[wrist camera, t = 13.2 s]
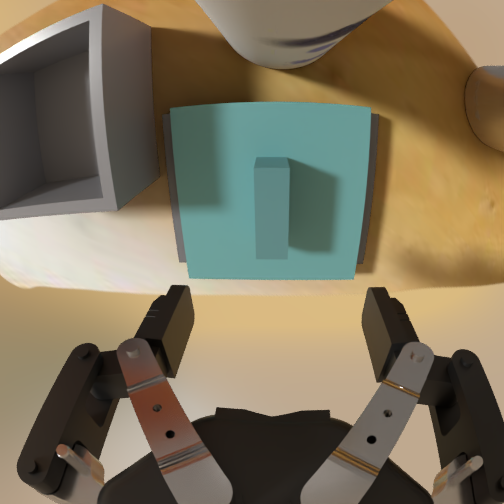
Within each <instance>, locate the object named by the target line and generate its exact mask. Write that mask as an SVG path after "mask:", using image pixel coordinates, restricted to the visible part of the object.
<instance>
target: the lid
mask: <svg viewBox="0 0 504 504" xmlns="http://www.w3.org/2000/svg"><path fill="white" fill-rule="evenodd" d="M170 116H171V130H172V142H173V154H174V164H175V174H176V184H177V193H178V201H179V210H180V218H181V225H182V233H183V240H184V247H185V254H186V261H187V267H188V273H189V278H193V279H249V280H350V279H354V275H355V269H356V263H357V257H358V250H359V244H360V237H361V229H362V222H363V214H364V205H365V196H366V186H367V174H368V162H369V147H370V126H371V107H362V106H353V105H341V104H328V103H309V102H239V103H220V104H206V105H194V106H185V107H176V108H170Z"/></svg>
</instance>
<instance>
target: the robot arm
mask: <svg viewBox="0 0 504 504" xmlns="http://www.w3.org/2000/svg"><path fill="white" fill-rule="evenodd" d="M465 107H466V113H467V117H468V120H469V123H470V125H471V127H472V129H473V131H474V133H475V134H476V136H477V137H478V138H479V139H480V140H481V141H482V142H483V143H484V144H486V145H487V146H489V147H491V148H494V149H497V150H499V151H502V152H504V66H483V67H479V68H478V69H476V70H475V71H474V72H473V73H472V74H471V76H470V78H469V79H468V82H467V85H466V90H465ZM193 324H194V309H193V304H192V299H191V293H190V288H189V286H187V285H172V286H171V287H170V289H169V291H168V293H167V295H161V296H160V297H158V298H157V299H156V300H155V301H154V302H153V303H152V305H151V307H150V309H149V311H148V312H147V314H146V317H145V318H144V320H143V322H142V323H141V325H140V327H139V329H138V331H137V333H136V335H135V337H134V338H131V339H128V340H126V341H124V342H123V343H121V344H120V345H119V347H118V349H117V350H114V351H105V352H100V351H99V349H98V347H97V346H96V345H94V344H92V343H85V344H81V345H79V346H77V347H76V348H75V349H74V350H73V351H72V352H71V354H70V356H69V357H68V359H67V361H66V363H65V365H64V366H63V368H62V370H61V372H60V374H59V375H58V377H57V379H56V381H55V383H54V385H53V387H52V388H51V391H50V392H49V395H48V397H47V398H46V400H45V402H44V404H43V406H42V408H41V410H40V412H39V414H38V416H37V418H36V421H35V423H34V425H33V427H32V429H31V431H30V434H29V436H28V438H27V440H26V443H25V445H24V447H23V450H22V452H21V455H20V457H19V459H18V462H17V472H18V475H19V477H20V478H21V480H22V481H24V482H25V483H26V484H28V485H29V486H31V487H32V488H34V489H35V490H37V492H39V493H40V494H42V495H44V496H45V497H47V498H49V499H51V500H52V501H54V502H56V503H58V504H502V503H504V422H503V418H502V415H501V412H500V410H499V407H498V404H497V402H496V399H495V396H494V394H493V391H492V389H491V386H490V384H489V381H488V379H487V376H486V374H485V372H484V369H483V367H482V365H481V363H480V360H479V358H478V357H477V356H476V355H475V354H474V353H473V352H471V351H469V350H465V349H461V350H457V351H456V352H455V353H454V354H453V355H452V357H451V358H449V357H441V356H436V355H434V354H433V351H432V350H431V349H430V348H429V347H428V346H427V345H425V344H423V343H421V342H420V341H419V339H418V337H417V335H416V332H415V330H414V328H413V326H412V324H411V321H409V317H408V315H407V314H406V311H405V308H404V306H403V304H401V303H400V302H399V301H398V300H397V299H396V298H390V296H389V294H388V292H387V290H386V288H385V287H369V288H368V290H367V294H366V299H365V304H364V308H363V313H362V328H363V332H364V335H365V339H366V343H367V346H368V350H369V354H370V358H371V361H372V365H373V369H374V374H375V378H376V382H382V383H381V385H380V386H379V388H378V390H377V391H376V393H375V395H374V396H373V397H372V399H371V401H370V402H369V404H368V405H367V407H366V408H365V410H364V411H363V413H362V414H361V416H360V417H359V418H358V420H357V421H356V423H355V424H354V426H352V425H350V424H348V423H347V422H344V421H342V420H338V419H335V418H330V410H311V411H299V412H294V413H290V414H284V415H279V416H273V417H271V416H267V415H263V414H259V413H255V412H252V411H248V410H244V409H231V408H219V407H217V408H216V413H215V415H210V416H206V417H203V418H200V419H197V420H195V421H193V422H190V421H189V419H188V417H187V416H186V414H185V412H184V410H183V408H182V407H181V405H180V403H179V401H178V399H177V398H176V396H175V394H174V392H173V390H172V388H171V386H170V385H169V383H168V381H167V379H166V377H169V378H175V377H176V374H177V371H178V368H179V365H180V362H181V359H182V356H183V353H184V351H185V348H186V345H187V342H188V339H189V336H190V333H191V331H192V328H193ZM129 397H130V400H131V403H132V405H133V408H134V410H135V413H136V415H137V417H138V420H139V423H140V425H141V427H142V430H143V432H144V434H145V436H146V439H147V441H148V443H149V445H150V448H151V450H152V451H151V452H150V453H148V454H147V455H146V456H144V457H143V458H141V459H140V460H138V461H137V462H135V463H134V464H133V465H131V466H130V467H128V468H127V469H125V470H124V471H122V472H121V473H119V474H118V475H116V476H115V477H113V478H112V479H110V480H109V481H108V482H107V483H105V484H104V468H103V465H102V464H101V462H100V461H99V458H100V455H101V451H102V448H103V445H104V442H105V439H106V436H107V433H108V430H109V427H110V425H111V422H112V419H113V416H114V413H115V410H116V408H117V405H118V402H119V399H120V398H129ZM416 404H423V405H428V406H429V410H430V415H431V419H432V423H433V428H434V432H435V437H436V442H437V447H438V453H439V458H440V464H441V471H440V472H439V473H438V474H437V475H436V477H435V479H434V484H433V492H432V495H430V494H429V493H428V491H427V490H426V489H424V488H423V487H422V486H421V485H420V484H419V483H417V482H416V481H415V480H414V479H413V478H411V477H410V476H409V475H408V474H407V473H406V472H404V471H403V470H402V469H401V468H400V467H399V466H398V465H396V464H395V463H394V462H393V461H392V460H391V459H390V458H389V457H388V456H389V455H390V453H391V451H392V449H393V448H394V446H395V444H396V442H397V441H398V439H399V437H400V435H401V433H402V432H403V430H404V428H405V426H406V424H407V422H408V420H409V418H410V416H411V414H412V412H413V410H414V408H415V406H416Z"/></svg>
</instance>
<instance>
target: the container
mask: <svg viewBox="0 0 504 504" xmlns="http://www.w3.org/2000/svg"><path fill="white" fill-rule="evenodd" d="M195 1H196V2H197V3H198V4H199V6H200V7H201V8H202V9H203V10H204V12H205V13H206V14H207V15H208V17H209V18H210V19H211V20H212V22H213V23H214V24H215V26H216V27H217V28H218V29H219V31H220V32H221V33H222V35H223V36H224V37H225V39H226V40H227V41H228V43H229V44H230V45H231V47H232V48H233V49H234V50H235V51H236V52H237V53H238V54H239V55H241V56H242V57H243V58H245V59H247V60H248V61H250V62H252V63H255V64H257V65H260V66H263V67H267V68H273V69H293V68H298V67H302V66H305V65H308V64H310V63H312V62H314V61H316V60H317V59H319V58H320V57H322V56H323V55H324V54H325V53H326V52H328V51H329V50H330V49H331V48H332V47H333V46H335V45H336V44H337V43H338V42H339V41H341V40H342V39H343V38H344V37H346V36H347V35H348V34H349V33H350V32H352V31H353V30H354V29H355V28H357V27H358V26H359V25H360V24H362V23H363V22H364V21H365V20H367V19H368V18H369V17H370V16H372V15H373V14H375V13H376V12H377V11H379V10H380V9H381V8H383V7H384V6H386V5H387V4H388V3H390V2H391V1H392V0H195Z"/></svg>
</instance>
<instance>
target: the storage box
mask: <svg viewBox="0 0 504 504" xmlns="http://www.w3.org/2000/svg"><path fill="white" fill-rule="evenodd" d="M159 177H160V171H159V162H158V152H157V142H156V131H155V118H154V103H153V85H152V58H151V26H149V25H147V24H145V23H143V22H141V21H139V20H137V19H135V18H133V17H131V16H129V15H127V14H124V13H122V12H120V11H118V10H116V9H114V8H111V7H109V6H107V5H105V4H100V5H98V6H95V7H92V8H90V9H87V10H85V11H82V12H80V13H77V14H75V15H72V16H70V17H68V18H66V19H63V20H61V21H59V22H57V23H55V24H53V25H51V26H49V27H47V28H45V29H43V30H41V31H39V32H37V33H35V34H33V35H31V36H30V37H28V38H26V39H24V40H22V41H21V42H19V43H17V44H16V45H14V46H12V47H11V48H9V49H7V50H6V51H4V52H3V53H1V54H0V220H8V219H17V218H28V217H38V216H50V215H62V214H75V213H89V212H105V211H118V210H119V209H120V208H122V207H123V206H124V205H125V204H127V203H128V202H129V201H130V200H131V199H133V198H134V197H135V196H136V195H138V194H139V193H140V192H141V191H143V190H144V189H145V188H147V187H148V186H149V185H150V184H152V183H153V182H154V181H156V180H157V179H158V178H159Z"/></svg>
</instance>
